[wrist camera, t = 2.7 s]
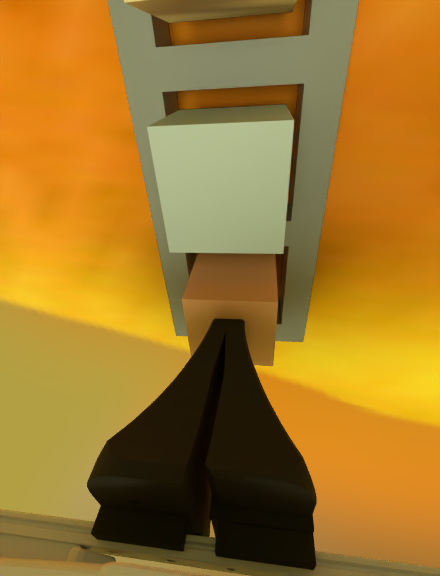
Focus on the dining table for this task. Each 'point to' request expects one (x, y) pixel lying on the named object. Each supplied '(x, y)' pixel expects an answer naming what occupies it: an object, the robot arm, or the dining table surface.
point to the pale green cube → (224, 178)
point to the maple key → (209, 8)
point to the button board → (247, 73)
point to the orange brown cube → (234, 299)
